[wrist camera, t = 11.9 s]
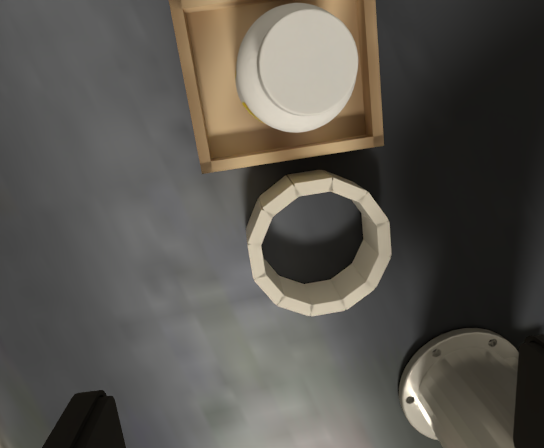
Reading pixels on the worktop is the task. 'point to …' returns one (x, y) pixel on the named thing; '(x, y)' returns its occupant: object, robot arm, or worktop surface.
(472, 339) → the robot arm
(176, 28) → the tray
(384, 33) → the worktop surface
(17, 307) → the worktop surface
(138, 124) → the worktop surface
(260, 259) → the holder
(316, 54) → the supplement bottle
